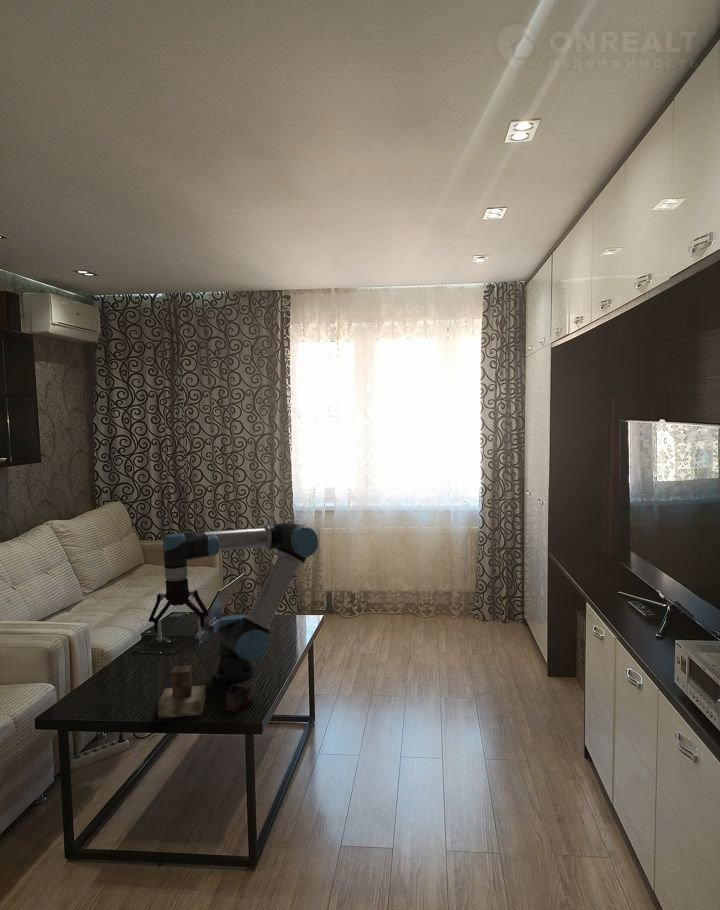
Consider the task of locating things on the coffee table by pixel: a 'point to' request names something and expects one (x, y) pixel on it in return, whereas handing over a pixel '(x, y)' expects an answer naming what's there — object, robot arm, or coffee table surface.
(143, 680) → the coffee table surface
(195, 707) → the oak block
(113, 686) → the coffee table surface
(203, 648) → the coffee table surface
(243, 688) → the electronic device
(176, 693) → the walnut block
